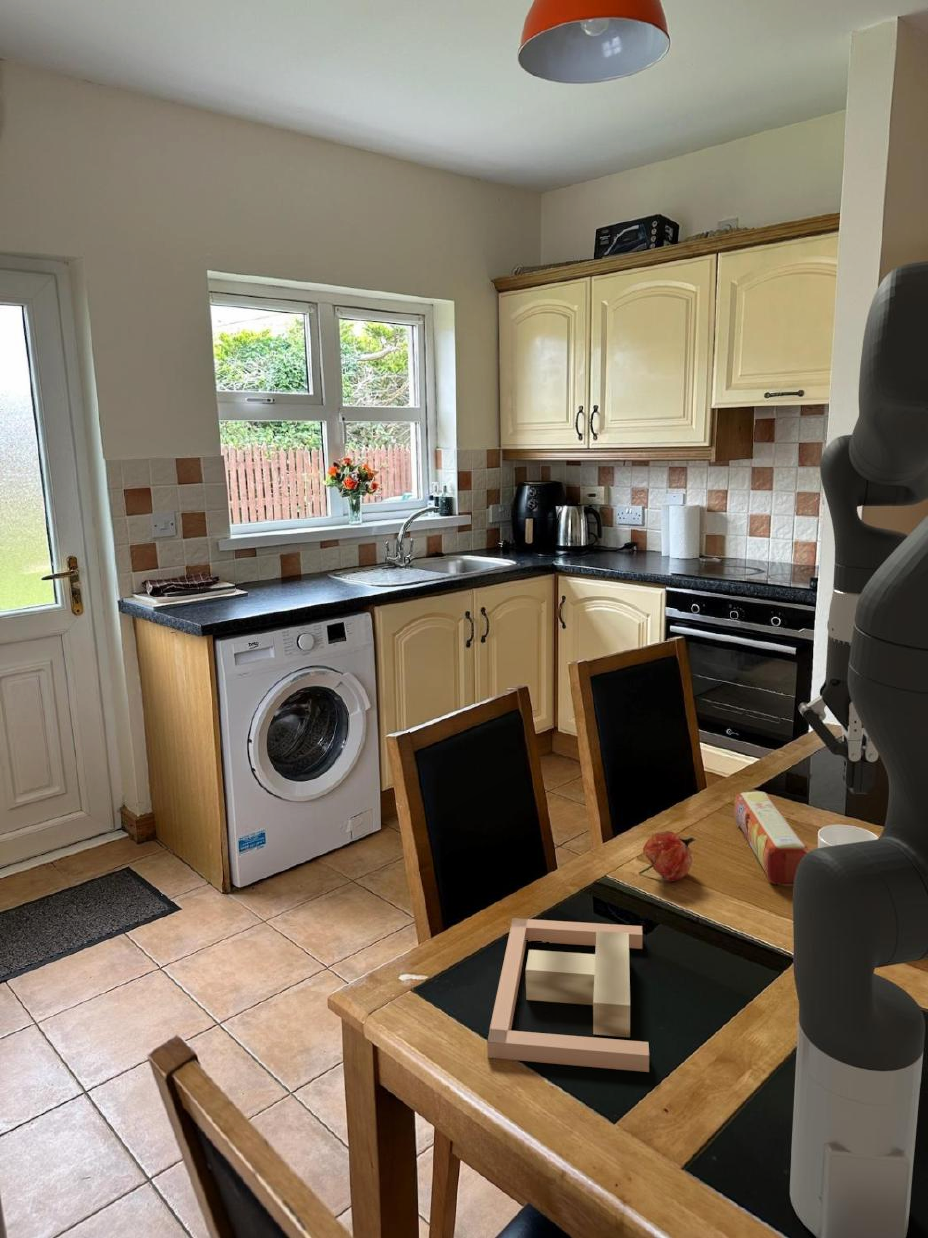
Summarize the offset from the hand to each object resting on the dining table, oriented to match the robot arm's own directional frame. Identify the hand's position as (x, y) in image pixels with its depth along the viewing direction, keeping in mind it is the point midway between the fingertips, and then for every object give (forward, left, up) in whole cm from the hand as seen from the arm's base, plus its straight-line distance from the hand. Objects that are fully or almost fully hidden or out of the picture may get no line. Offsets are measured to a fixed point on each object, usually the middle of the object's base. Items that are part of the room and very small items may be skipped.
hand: (857, 790), depth 91 cm
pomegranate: (+29, +18, -27) cm, 44 cm away
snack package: (+38, +2, -28) cm, 47 cm away
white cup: (+24, -6, -27) cm, 37 cm away
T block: (0, +30, -27) cm, 40 cm away
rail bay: (0, +30, -27) cm, 40 cm away
